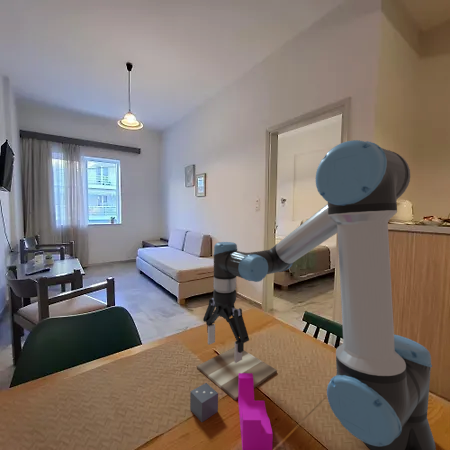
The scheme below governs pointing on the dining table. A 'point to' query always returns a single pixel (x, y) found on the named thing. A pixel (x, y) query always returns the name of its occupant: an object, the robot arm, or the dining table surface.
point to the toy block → (253, 417)
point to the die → (204, 402)
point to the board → (235, 370)
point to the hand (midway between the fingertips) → (224, 351)
